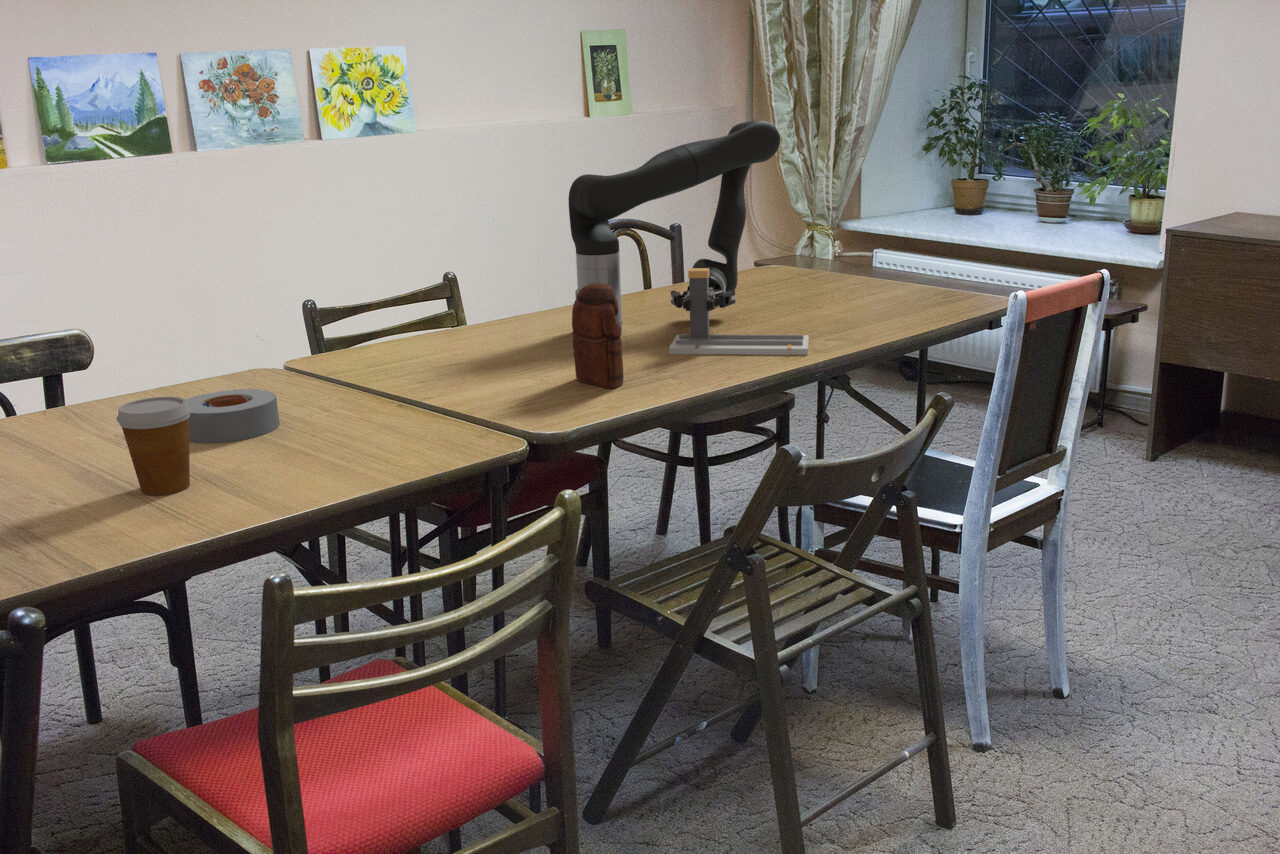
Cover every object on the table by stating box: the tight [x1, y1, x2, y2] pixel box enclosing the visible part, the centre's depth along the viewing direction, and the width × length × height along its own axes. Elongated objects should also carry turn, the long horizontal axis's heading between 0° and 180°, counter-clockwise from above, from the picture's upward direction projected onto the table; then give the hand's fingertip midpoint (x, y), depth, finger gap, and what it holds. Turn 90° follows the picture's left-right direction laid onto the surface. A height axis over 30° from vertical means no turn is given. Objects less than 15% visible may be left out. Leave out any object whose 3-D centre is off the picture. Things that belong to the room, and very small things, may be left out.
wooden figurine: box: [571, 283, 625, 389], centre depth 208 cm, size 12×6×18 cm, turn 43°
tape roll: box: [185, 388, 281, 444], centre depth 188 cm, size 15×15×5 cm
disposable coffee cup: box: [116, 396, 191, 496], centre depth 160 cm, size 10×10×12 cm
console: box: [668, 333, 810, 356], centre depth 233 cm, size 27×13×2 cm, turn 81°
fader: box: [687, 267, 712, 340], centre depth 232 cm, size 4×4×14 cm
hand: (698, 305), depth 229 cm, fingers closed on fader, 3 cm apart
